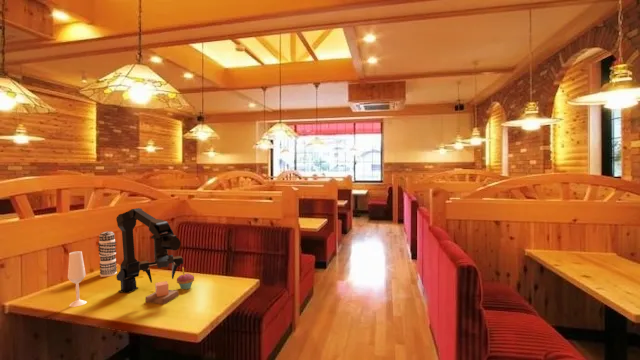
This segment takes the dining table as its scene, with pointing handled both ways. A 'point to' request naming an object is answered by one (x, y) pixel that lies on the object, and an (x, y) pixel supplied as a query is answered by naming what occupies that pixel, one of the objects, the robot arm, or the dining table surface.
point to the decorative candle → (107, 254)
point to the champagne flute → (76, 274)
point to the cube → (162, 288)
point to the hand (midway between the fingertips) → (162, 280)
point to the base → (161, 297)
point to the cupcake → (185, 280)
